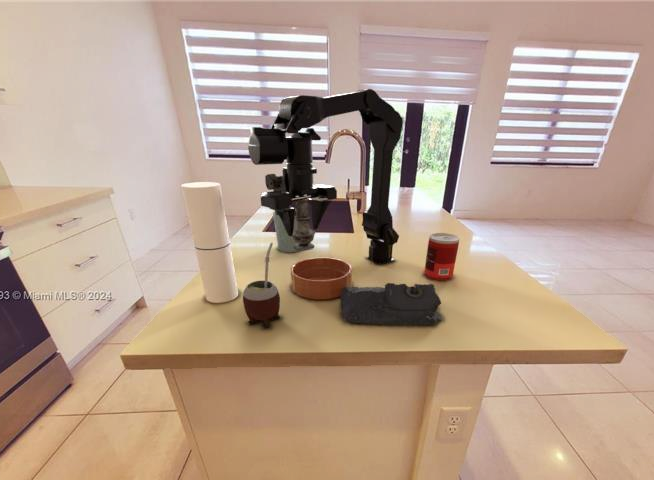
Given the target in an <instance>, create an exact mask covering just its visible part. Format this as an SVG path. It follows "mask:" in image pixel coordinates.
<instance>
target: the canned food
mask: <svg viewBox="0 0 654 480" xmlns="http://www.w3.org/2000/svg"><path fill="white" fill-rule="evenodd" d="M459 245H460V237H459V236H458V235H455V234H452V233H447V232H436V233H431V234H429V237H428V242H427V249H426V256H425V265H424V275H425V276H426V278H428V279H430V280H435V281H448V280H450V279H452V277H453V275H454V272H455V266H456V261H457V255H458V250H459Z"/></svg>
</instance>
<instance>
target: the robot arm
mask: <svg viewBox="0 0 654 480" xmlns="http://www.w3.org/2000/svg"><path fill="white" fill-rule="evenodd" d="M354 112H359V114H360V117H361V120H362V122H364V124H365V125H366V126H367V127H368V137H369V141H370V142H371V145H372V149H373V161H372V163H373V164H372V180H371V192H370V193H371V195H370V196H371V197H370V205H369V207H368V210H367V211H363V212H362V222H361V226H362V229H363V232H365V235H366V239H369V240H370V241H369V243H370V244H369V246H368V255H367V256H366V259H368V260H369V261H371V262H372V263H374V264H376V265H383V264H387V263H388V264H389V263H393V262H395V261H396V259H395V258H393V248H394V245H395V244H397V243H398V240H399V238H400V234H398V232H397V231H396V230H395V228H394V225H393V223H394V222H393V215H392V213H391V210H390V208H389V203H390V202H389V201H390V190H391V179H392V168H393V156H394V151H395V148H396V147H397V145H398V144H399V142H400V141H401V135H402V131H403V125H404V120H403V116H402V115H401V114H400V112H399V111H398V110H396V109H395V108H394V106H392V105H391V104H390V103H389V102H387V101H385V100H384V99H383V98H382V97H381V96H379V94H378V93H377V92H376V91H375V90H374V89H372V88H365V89H359V90H356V91H354V92H353V91H352V92H348V93H341V94H335V95H331V96H330V95H329V96H324V97H321V96H317V95H304V94H303V95H293V96H287V97H284V98H282V99H281V101H280V103H279V106H278V113H277V116H276V118H275V119H274V121H273V122H272V124H271V126H270V128H265V127H260V126H251V127H250V135H249V137H248V145H247V151H248V154H249V158H250V160H251V162H252V163H253V165H255V166H261V165H263V166H264V165H282V164H284V162H285V163H286V167H282V175H278V176H277V174H275V173H268V174H266V175H265V176H264V177H265V179H264V181H265V182H264V183H265V186H266V189H267V190H268V191H264V192H262V194H261V195H260V206H261V207H265V208H268V209H269V210H272V211H276V212H277V214H278V215H279V217H280V219H281V220H282V223H283V225H284V227H285V229H286V232H287V234H288V236H292V235H293V229H294V217H295V209H296V207H292V205H293V202H299V201H301V200H303V201H305V200H307V203H308V205H309V206H310V210H311V211H310V212H311V225H312V229H313V230H314V231H315V230H318V229H319V226H320V224H321V222H322V219H323V217H324V215H325V213H326V212H327V209H328V207H329V206H330V205H331V204H332V203H333V200H337V199H338V190H337V189H336V187H335V186H333V185H329V184H328V185H326V184H315V185H314V175H315V174H318V170H317V168H315V167H314V164H313V163H314V162H313V141H321V139H322V137H321V136H320V135H319V134H318V133H317V131H315V129H314V128H313V127H314V126H315V125H317V124H319V123H321V122H322V121H324V120H325V119H327V118H329V117H334V116H339V115H345V114H348V113H349V114H350V113H354ZM303 129H305V131H301V130H303ZM286 134H291V135H290V136H286ZM285 160H286V161H285Z"/></svg>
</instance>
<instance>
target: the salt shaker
mask: <svg viewBox="0 0 654 480" xmlns="http://www.w3.org/2000/svg"><path fill="white" fill-rule="evenodd" d="M295 209H296V216H295V218H296V225H297V226H296V230H295V231H293V239H294V241H295V242H296V243H297V244H295V245H294V246H293V248H294V249H296V250H301V251H310V250H313V249H315V244H313V243H312V242H313V241H314V238H315V235H316V231H315V230H312V229H311V227H310V219H311V216H310V215H309V203H308V202H307V201H305V200H300V201H296V203H295Z"/></svg>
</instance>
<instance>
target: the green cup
mask: <svg viewBox="0 0 654 480" xmlns="http://www.w3.org/2000/svg"><path fill="white" fill-rule="evenodd" d="M295 216H296V208H295ZM272 217H273V221H274V222H273V223H274V230H275V235H276V237H275V238H276V242H277V250H279V251H280V252H282V253H298V252H301V251H302V250H296V249H294V248H293V246H294V245H295V244H297V243H296V242H295V241H294V239H293V235H292V236H288V234H287V232H286V229H285V227H284V225H283V223H282V220H281V219H280V217H279V215H278V214H277V212H276V211H275V210H273V212H272ZM296 226H297V225H296V218H295V217H294V229H293V231H295V230H296Z"/></svg>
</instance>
